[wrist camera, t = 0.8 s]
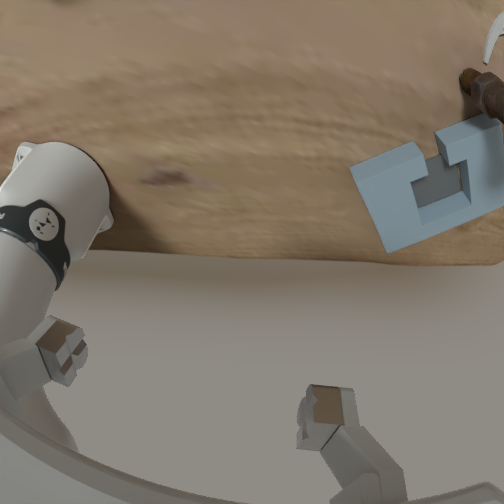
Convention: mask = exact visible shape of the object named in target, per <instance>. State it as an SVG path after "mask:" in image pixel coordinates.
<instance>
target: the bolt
mask: <svg viewBox="0 0 504 504" xmlns="http://www.w3.org/2000/svg"><path fill="white" fill-rule="evenodd" d="M463 73H464V75H463V74H461V75H460V81H461V84H462V88H463V89H464V91H465V92H466V93H467V94H468V95H470V96H471V102H472V103H473V104H474V105H475V106H476V107H477V108H478V109H480V110H481V111H482V112H483V113H484V114H485V115H486V116H488V117H489V118H490V119H494V118H497V119H498V120H500V121H501V122H502V123H503V124H504V82H503V81H502V80H501V79H499V78H498V77H497V76H496V75H494V74H493V73H491V72H486V73H483V74H481V73H480V72H478V71H476V70H474V69H472V68H467V69H465V70H463Z"/></svg>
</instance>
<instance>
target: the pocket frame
mask: <svg viewBox="0 0 504 504" xmlns="http://www.w3.org/2000/svg"><path fill="white" fill-rule="evenodd" d="M434 133H435V137H436V141H437V145H438V149H439V152H440V155H437V156H435V157H432V158H430V159H427V160H425V159H424V156H423V154H422V152H421V151H420V149H419V148H418V147H417V145H416V144H415V143H414V141H411V142H409V143H406V144H404V145H402V146H399V147H397V148H394V149H392V150H390V151H387V152H385V153H382V154H380V155H378V156H375V157H373V158H371V159H368V160H366V161H364V162H361V163H359V164H357V165H354V166H352V167H350V170H351V172H352V175H353V178H354V180H355V183H356V185H357V187H358V189H359V191H360V193H361V195H362V197H363V200H364V202H365V204H366V206H367V208H368V210H369V212H370V215H371V217H372V219H373V221H374V223H375V226H376V228H377V230H378V233H379V235H380V237H381V240H382V242H383V244H384V247H385V249H386V252H387V254H388V253H391V252H393V251H396V250H398V249H401V248H404V247H406V246H409V245H411V244H414V243H416V242H419V241H421V240H424V239H426V238H429V237H431V236H434V235H436V234H439V233H441V232H444V231H446V230H449V229H451V228H453V227H456V226H458V225H461V224H463V223H465V222H468V221H470V220H472V219H475V218H477V217H479V216H482V215H484V214H486V213H488V212H491V211H493V210H495V209H497V208H500V207H502V206H504V148H503V134H502V124H501V123H500V122H499V121H498V120H497V119H496V118H494V119H490V118H489V117H488V116H486V115H485V114H484V113H483V114H480V115H478V116H475V117H472V118H470V119H467V120H465V121H462V122H459V123H457V124H454V125H452V126H449V127H446V128H444V129H441V130H439V131H436V132H434ZM456 163H459V170H460V176H461V184H462V191H461V192H458V191H460V183H459V176H458V170H457V164H456ZM456 192H458V193H456ZM454 193H456V194H454ZM451 194H453V195H451ZM449 195H451V196H449ZM446 196H449V197H446ZM444 197H446V198H444ZM441 198H444V199H441ZM439 199H441V200H439ZM437 200H439V201H437ZM434 201H436V202H434ZM432 202H434V203H432ZM429 203H432V204H429ZM427 204H429V205H427ZM424 205H427V206H424ZM422 206H424V207H422ZM419 207H422V208H419ZM418 208H419V209H418Z"/></svg>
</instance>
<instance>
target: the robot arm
mask: <svg viewBox="0 0 504 504" xmlns="http://www.w3.org/2000/svg"><path fill="white" fill-rule="evenodd" d="M113 223H114V219H113V216H112V214H111V211H110V209H109V188H108V184H107V181H106V179H105V177H104V175H103V173H102V171H101V170H100V168H99V167H98V166H97V164H96V163H95V162H94V161H93V160H92V159H91V158H90V157H89V156H88V155H86V154H85V153H84V152H82V151H81V150H79V149H77V148H76V147H73V146H71V145H68V144H65V143H61V142H48V143H44V144H34V143H30V142H23V143H21V145H20V146H19V147H18V149H17V152H16V156H15V160H14V164H13V168H12V172H11V173H10V175H9V176H8V177H7V178H6V180H5V181H4V183H3V184H2V185H1V187H0V504H247V503H239V502H233V501H227V500H222V499H216V498H211V497H206V496H202V495H197V494H193V493H188V492H184V491H181V490H177V489H173V488H170V487H166V486H163V485H159V484H156V483H153V482H150V481H147V480H144V479H141V478H138V477H135V476H132V475H129V474H127V473H124V472H121V471H119V470H116V469H113V468H111V467H109V466H106V465H104V464H101V463H99V462H97V461H95V460H92V459H90V458H88V457H86V456H84V455H82V454H80V453H79V451H78V448H77V446H76V443H75V441H74V439H73V436H72V435H71V433H70V431H69V430H68V428H67V427H66V426H65V424H64V423H63V422H62V421H61V420H60V418H59V417H58V415H57V414H56V412H55V411H54V409H53V408H52V406H51V404H50V402H49V401H48V399H47V396H46V394H45V391H44V388H43V385H45V384H46V383H48V382H50V381H51V380H53V381H55V382H58V383H60V384H62V385H64V386H67V387H69V386H70V385H71V383H72V382H73V380H74V379H75V377H76V376H77V374H76V370H77V369H80V368H82V367H83V365H84V364H85V362H86V359H87V356H88V348H87V344H86V343H85V342H84V340H83V337H84V332H83V329H82V328H80V327H77V326H75V325H72V324H70V323H68V322H65V321H63V320H61V319H58V318H56V317H54V316H51V315H50V316H47V317H46V318H45V315H46V312H47V309H48V306H49V303H50V301H51V298H52V296H53V293H54V291H56V290H58V288H59V287H60V285H61V283H62V281H63V280H64V278H65V276H66V273H67V269H68V267H69V265H70V262H74V261H77V260H79V259H83V258H84V257H85V255H86V253H87V251H88V249H89V248H90V246H91V244H92V242H93V240H94V238H95V236H96V235H97V234H98V233H101V232H103V231H105V230H108V229H110V228H111V226H112V225H113ZM297 423H298V425H299V426H300V429H299V430H298V432H297V449H303V450H312V451H320V453H321V455H322V456H323V458H324V460H325V461H326V463H327V464H328V466H329V468H330V469H331V471H332V473H333V474H334V476H335V477H336V479H337V480H338V482H339V484H340V485H341V487H342V488H343V490H342V491H340V492H339V493H338V494H336V495H335V496H334V497H333V498H331V499H330V504H504V492H503V491H501V490H500V489H499V488H498V487H496V486H495V485H493V484H492V483H490V482H482V483H478V484H475V485H472V486H469V487H466V488H463V489H459V490H456V491H452V492H448V493H444V494H440V495H436V496H431V497H426V498H421V499H416V500H411V501H408V498H407V492H406V485H405V480H404V474H403V469H402V468H401V467H400V466H399V465H398V464H397V463H396V462H395V461H394V460H393V458H391V456H390V455H389V454H388V453H387V452H386V451H385V450H384V448H383V447H382V446H381V445H380V444H379V443H378V442H377V441H376V440H375V438H374V437H373V436H372V435H371V434H370V433H369V432H368V431H367V430H366V428H365V427H364V426H360V424H359V418H358V412H357V406H356V400H355V394H354V390H353V389H352V388H342V387H333V386H323V385H314V384H310V385H309V386H308V388H307V390H306V397H304V398H302V400H301V402H300V405H299V409H298V414H297Z"/></svg>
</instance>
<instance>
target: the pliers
mask: <svg viewBox="0 0 504 504" xmlns="http://www.w3.org/2000/svg"><path fill="white" fill-rule="evenodd" d="M503 29H504V11H503V12H502V13H501V14H500V15H498V17H497V18H496V20H495V21H494V23H493V25H492V26H491V29H490V31H489V33H488V36H487V39H486V43H485V48H484V55H483V62H485V63H487V64H488V61H489V58H490V55H491V52H492V50H493V47H494V45H495V43H496V41H497V39H498V37H499V35H501V34H504V30H503Z"/></svg>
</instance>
